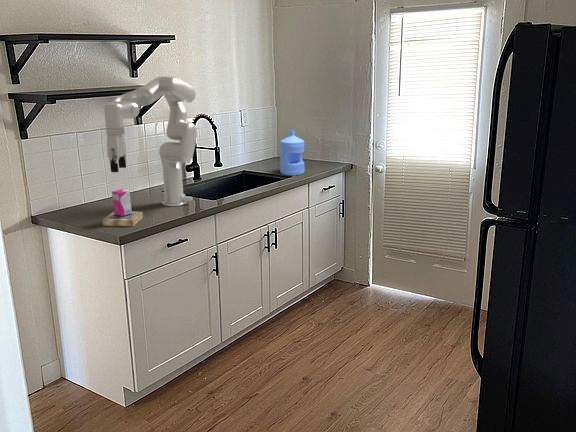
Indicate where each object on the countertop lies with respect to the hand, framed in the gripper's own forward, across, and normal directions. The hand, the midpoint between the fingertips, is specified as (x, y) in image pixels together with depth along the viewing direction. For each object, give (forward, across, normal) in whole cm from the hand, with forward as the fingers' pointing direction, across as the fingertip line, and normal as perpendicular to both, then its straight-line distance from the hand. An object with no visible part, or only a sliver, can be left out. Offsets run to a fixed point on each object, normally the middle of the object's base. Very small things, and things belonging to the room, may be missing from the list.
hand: (118, 169), depth 250 cm
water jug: (+25, -112, +71) cm, 135 cm away
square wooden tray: (+24, 0, 0) cm, 24 cm away
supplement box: (+21, 0, 0) cm, 21 cm away
